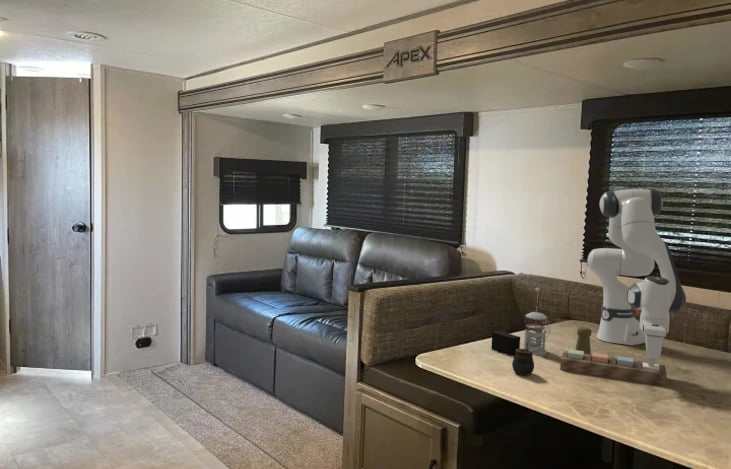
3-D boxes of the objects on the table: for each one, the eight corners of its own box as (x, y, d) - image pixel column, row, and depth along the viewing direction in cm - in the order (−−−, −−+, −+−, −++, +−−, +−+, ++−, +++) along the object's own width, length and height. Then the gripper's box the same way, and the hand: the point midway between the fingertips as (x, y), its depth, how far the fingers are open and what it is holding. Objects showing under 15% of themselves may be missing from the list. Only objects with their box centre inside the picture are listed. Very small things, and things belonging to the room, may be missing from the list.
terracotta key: (591, 363, 200) (592, 356, 200) (592, 359, 205) (593, 352, 205) (607, 365, 198) (607, 358, 198) (607, 361, 203) (608, 354, 203)
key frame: (560, 369, 202) (560, 358, 202) (563, 361, 212) (563, 350, 212) (665, 386, 188) (666, 374, 188) (663, 376, 198) (664, 365, 198)
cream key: (642, 373, 194) (643, 366, 194) (642, 369, 198) (642, 362, 198) (659, 376, 192) (659, 368, 192) (658, 371, 196) (658, 364, 196)
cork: (592, 358, 217) (594, 330, 216) (575, 357, 218) (577, 328, 217) (589, 354, 223) (591, 326, 222) (573, 352, 224) (575, 324, 223)
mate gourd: (510, 374, 194) (512, 345, 194) (512, 368, 201) (514, 340, 201) (532, 378, 192) (534, 348, 191) (534, 371, 199) (536, 343, 198)
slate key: (616, 366, 197) (617, 359, 197) (617, 362, 202) (617, 355, 201) (632, 369, 195) (633, 361, 195) (632, 365, 200) (633, 358, 199)
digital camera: (521, 354, 220) (522, 336, 219) (512, 356, 216) (513, 338, 216) (500, 347, 228) (501, 330, 227) (491, 349, 225) (492, 331, 224)
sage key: (567, 359, 204) (567, 352, 203) (568, 355, 208) (569, 349, 208) (582, 361, 202) (583, 354, 201) (583, 358, 206) (583, 351, 206)
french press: (515, 348, 227) (519, 285, 225) (539, 346, 232) (543, 284, 230) (532, 355, 218) (536, 290, 216) (556, 353, 223) (560, 289, 221)
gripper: (643, 318, 204) (640, 356, 206) (644, 330, 186) (641, 372, 187) (662, 320, 202) (659, 359, 203) (666, 332, 183) (663, 375, 184)
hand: (650, 365), depth 195 cm, fingers closed, pressing on cream key
